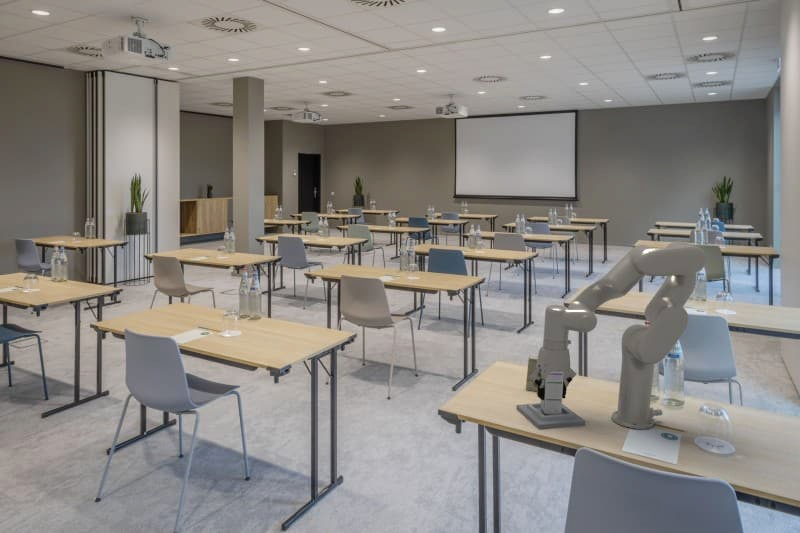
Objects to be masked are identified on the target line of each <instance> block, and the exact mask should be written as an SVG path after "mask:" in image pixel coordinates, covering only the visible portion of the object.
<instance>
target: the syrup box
mask: <svg viewBox="0 0 800 533" xmlns="http://www.w3.org/2000/svg"><path fill="white" fill-rule="evenodd" d="M563 376H564V372H563V371H552V372H550V373H549V375H548V377H547V378H546V380H545V385H544V388H545V395H544V400H541V399H540V403H541V405H540V407H541V409H542V411H543V413H544V414H551V415H560V414H561V409H562V404H563V398H562V394H563Z"/></svg>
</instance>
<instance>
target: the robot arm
mask: <svg viewBox="0 0 800 533" xmlns="http://www.w3.org/2000/svg"><path fill="white" fill-rule="evenodd" d="M707 260H708V259H707V254H706V251H705V250H703V249H702V248H701V247H700V246H698V245H695V244H692V243H688V242H684V241H673V242H670V243H669V244H667V246H666V247H653V246H649V245H645V244H638V245H636V246H634V247H633V248H631V249H630V250H629V251H628V252H627V253H626V254H625V255H624V256H623V257H622V258H621V259H620V260H619V261H618V262H617V263H616V264H615V265H614V266H613V267H612V268H611V269H610V270H609V271H608V272H607V273H606V274H605V275H604V276H602V277H601V278H599V279H598V280H597V281H594V282H593V283H591V285H589V286H587V287H586V288H584V290H583V291H582V292H580V293H579V294H578V296H576V297H575V298H574V299H573V300H572V301H571V302H570V303H569V304H568V306H565V305H558V304H551V305H548V306H547V307H546V308H545V310H544V311H545V312H544V314H545V316H544V327H543V328H544V329H543V340H542V341H543V342H542V343H543V344H542V346H540V348H539V351H538V355H537V356H538V358H537V364H536V369H535V370H534V371H533V372H532V373H531V374H530V377H531V379H532V380H533V381H534V382H535V383H536V385H537V386H538V389H537V391H536V392H537V393H536V396H537V397H538V398H539V399H540V401H541V400H544V395H545V388H544V385H545V380H546V378H547V377H548V375H549V373H550V372H552V371H563V372H564V376H563V394H562V400H563V399H566V395H567V388H568V387H569V384H570V383H571V382H572V381H573V379H574V378H575V376H577V373H576V372H575V371H574V370H573V369H572V368H571V356H570V349H569V345H571V344H572V341H571V339H569V332H570V331H573V332H578V333H589V332H590V333H591V331H593V330H595V328H596V327H597V325H598V318H597V316H596V314H595V313H594V312H595V311H596V310H597V309H598V308H599V307H601V306H602V305H604V304H606V303H607V302H608V301H612V300H615V299H619V298H622V297H625V296H626V295H627V294H629V292H630V291H631V290H632V289H633V288H634V287H635V286H636V285H637V284H639V282H641V281H642V279H643V278H644V277H646V276H647V277H665V279H664V281H663V283H662V285H661V286H660V287H659V289H658V290H657V292H656V293H655V294H654V296H652V299H651V300H650V301H649V303H647V304H646V307H645V309H644V317H645V319H646V321H648V323H649V325H648V326H646V325H645V324H639V323H638V324H632V325H630V326H628V327H627V328H626V329H625V330H624V331H623V334H622V336H621V369H620V378H619V379H620V380H619V390H618V400H617V410H616V411H614V412H612V414H611V419H612V421H613V422H615V423H616V424H618V425H620V426H623V427H626V428H628V427H629V429H633V428H635V429H636V430H648V429H651V428H653V426H654V419H653V418H654V417H655V416H656V417H658V416H662V415H663V410H662V409H654V407H651V400H652V392H653V390H652V389H653V381H654V380H653V379H654V373H655V372H654V369H655V364H659V363H660V362H661V361H663V360H664V359H665V358H666V356H667V355H668V354H669V353H670V352H671V350H672V349H673V348H674V347H675V345H676V343H677V342H678V341H679V340H680V338H681V337H682V336H683V335H684V333H685V331H686V329H687V327H688V325H689V314H688V312H687V310H686V308H685V307H684V306H685V304H686V303H687V302H688V300H689V298H690V297H691V295H692V294H693V292H694V290H695V287H696V285H697V284H696V283H697V273H698V272H700V271H702V270H703V269H704V268H705V266H706V264H707ZM536 376H540V377H539V379H537V378H536ZM647 428H648V429H647Z"/></svg>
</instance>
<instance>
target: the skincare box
mask: <svg viewBox="0 0 800 533" xmlns="http://www.w3.org/2000/svg"><path fill="white" fill-rule="evenodd" d="M537 358H538V355H532V354H529V356H528V363H527V372H526V383H525V390H526V391H533V392H537V389H538V386H537V385H536V383H535V382H534V381H533V380H532V379H531V377H530V374H531V373H532V372H533V371H534V370H535V369H536V364H537ZM539 377H540V376H536V378H537V379H539Z"/></svg>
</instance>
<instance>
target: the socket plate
mask: <svg viewBox="0 0 800 533" xmlns="http://www.w3.org/2000/svg"><path fill="white" fill-rule="evenodd" d="M540 405H541V402H534V403H524V404H516V408H515V409H516V411H517V412H519V413H520V414H521V415H522V416H523V417H525V418H526V419H527V420H528V421H529V422H530V423H531V424H532V425H534V426H535V428H537V429H538V430H547V429H561V428H570V427H571V428H573V427H582V426H583V427H584V426H586V422H587V421H586V420H585V419H584V418H582V417H581V416H579V415H578V414H577V413H575V412H574V411H573V410H572V409H570V408H569V407H567V406H566V405H565V404H564V403H562V409H561V414H560V415H551V414H544V413H543V411H542V409H541V407H540Z"/></svg>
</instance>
